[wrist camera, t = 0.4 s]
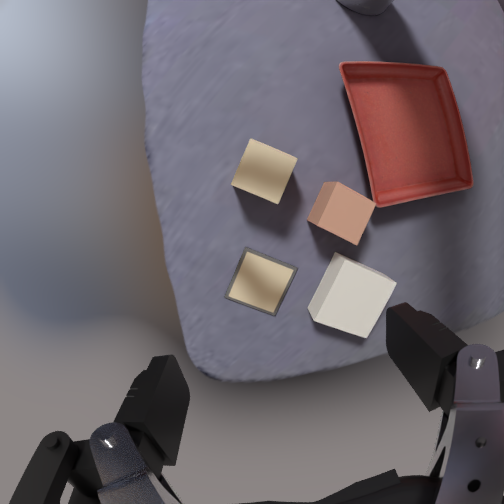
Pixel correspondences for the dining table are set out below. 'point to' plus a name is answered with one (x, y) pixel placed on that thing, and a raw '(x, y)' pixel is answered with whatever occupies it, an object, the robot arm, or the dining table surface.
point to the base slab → (350, 296)
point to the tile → (260, 281)
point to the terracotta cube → (341, 211)
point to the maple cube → (264, 171)
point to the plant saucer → (407, 130)
